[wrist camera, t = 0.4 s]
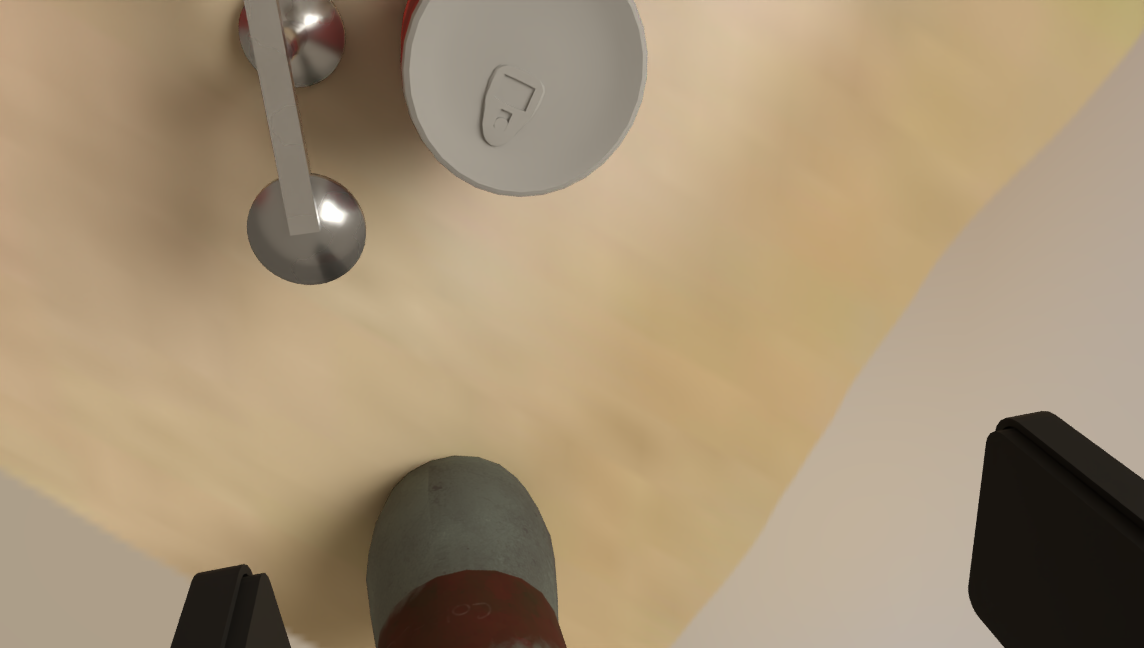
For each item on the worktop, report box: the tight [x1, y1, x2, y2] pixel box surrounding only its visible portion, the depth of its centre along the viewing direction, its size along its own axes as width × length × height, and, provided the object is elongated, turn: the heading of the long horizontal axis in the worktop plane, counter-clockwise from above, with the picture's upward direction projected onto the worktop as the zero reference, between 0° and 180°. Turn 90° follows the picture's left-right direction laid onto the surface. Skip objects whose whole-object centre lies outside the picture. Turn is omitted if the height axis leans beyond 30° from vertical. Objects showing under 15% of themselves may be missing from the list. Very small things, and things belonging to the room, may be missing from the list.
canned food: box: [400, 0, 648, 197], centre depth 32 cm, size 8×8×11 cm
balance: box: [239, 0, 366, 285], centre depth 31 cm, size 16×4×8 cm, turn 5°
